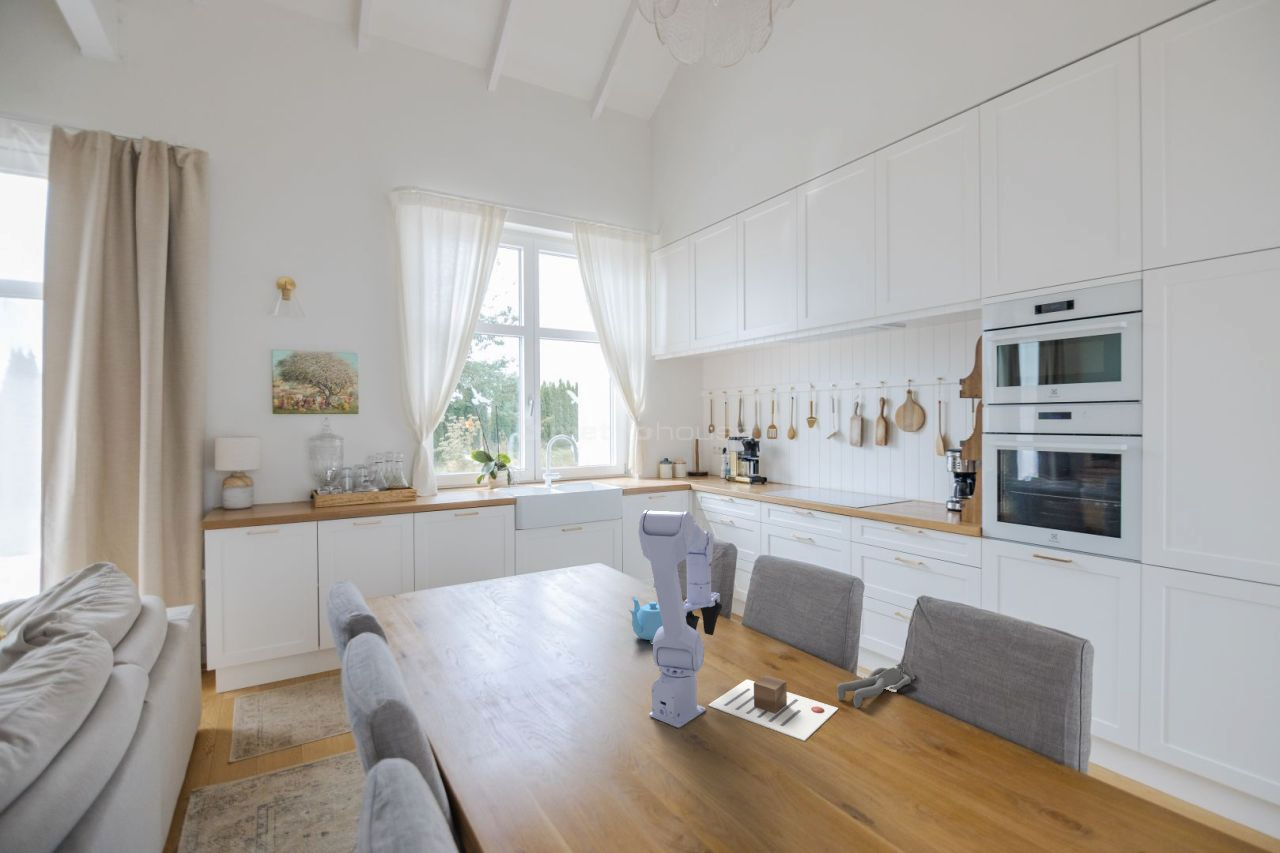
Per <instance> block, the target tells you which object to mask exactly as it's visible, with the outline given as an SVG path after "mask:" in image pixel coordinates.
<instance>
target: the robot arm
mask: <svg viewBox="0 0 1280 853" xmlns="http://www.w3.org/2000/svg"><path fill="white" fill-rule="evenodd" d="M638 523H639V525H638V538H639V543H640V547H641V551H642V555H643V557H644V558H646V559H647V560H648V561H650V565H651V571H652V576H653V582H654V588H655V592H656V598H657V604H659V609H660V614H661V619H662V624H663V626H661V627H660V628H659V629H658V630H657V631H656V634H655V636H654V639H653V644H652V647H653V648H652V659H653V660H652V661H653V663H654V665H655V666H656V667H658V672H660V675H659V677H657V678H656V680H654V682H653V683H652V686H651V700H652V702H651V706H652V707H651V711H650V712H649V714H648V716H649V717H651V718H654V719H656V720H659V721H661V722H663V723H666V724H668V725H670V726H672V727H675V728H679V729H680V728H681V727H683V726H685V725H686V724H687V723H689V722H690V721H692V720H694V719H696V717H698V716H700V715H701V714H702V713H704V712H705V711H706V709H707V708H706V707H704V706H702V705H699V704H698V695H697V693H698V692H697V687H698V686H697V673H698V672H699V671H700V670H701V669H702V668H703V666H704V660H705V644H704V643H703V641H702V638H701V636H700V632H698V631H697V627H698V624H699V620H700V619H701V618H700V616H699V615H698V616H697V615H695V614H694V613H693V612H695V611H698V610H699V609H700V611H701V616H702V624H703V625H702V626H703V631H704V634H706V635H710V636H713V635H714V633H715V628H716V626H717V625H716V624H717V620H718V617H719V615H720V613H721V611H722V609H723V604H721V603H719V602H720V601H721V600H720V598H721V596H720V595H721V594H720V593H718V592H715V591H714V592H713V591H712V570H711V569H712V568H711V567H712V562H713V552H714V546H715V545H714V535H713V533H710V532H709V531H708V530H704V529H702V527H700V526H699V525H698V524H697V523H696V520H694V518H693V515H692V514H691V512H690V511H688V510H686V511H665V510H663V511H662V510H650V509H645V510H644V511H643V512H642V513H641V515H640V516H639V522H638ZM685 560H686V599H685V600H684V599H683V595H682V594H683V593H682V587H681V582H680V576H679V571H678V564H679V563H680V562H683V561H685ZM683 600H684V601H683Z"/></svg>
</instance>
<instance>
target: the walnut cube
mask: <svg viewBox="0 0 1280 853" xmlns="http://www.w3.org/2000/svg"><path fill="white" fill-rule="evenodd" d="M787 686H788V685H787V680H784V679H780V678H777V677H773V676H771V675H766V674H765V675H763V676H762V677H760V678H759V679H757V680H756V681H754V707H757V708H760V709H763V710H766V711H769V712H772V713H774V714H776V713H777V712H778V711H780V710H781V709H782V708H783V707H785V706H786V705H787V692H788V691H787V690H788V689H787Z"/></svg>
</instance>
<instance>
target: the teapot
mask: <svg viewBox="0 0 1280 853" xmlns="http://www.w3.org/2000/svg"><path fill="white" fill-rule="evenodd" d="M631 599H632V601H633V605H634V610H632V609H628V611H629V613H630V615H631V616H632V617H631V626H632V630H633V632H634V634H636V636H637V638H638V637H639V638H642V640H649V644H650V643H653V639H654V636H655V634H656V631H657V630H658V629H659V628H660V627H661V626H663V624H662V619H661V614H660V609H659V603H658V601H657V602H656V601H650V602H648V604H644V605H643V606H640V602H639V600H638V599H637V598H636V597H635V596H631Z"/></svg>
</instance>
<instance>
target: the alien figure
mask: <svg viewBox="0 0 1280 853" xmlns="http://www.w3.org/2000/svg"><path fill="white" fill-rule="evenodd" d="M901 664H902V662H899V663H897V664H895V666H896V667H889V668H887V667H878V668H876V669H874V670H873V671H872V672H871V673H870V674H869V675H868V677H865V676H864V678H860V679H857V680H856V679H855V680H851V681H845V682H840V683H838V684H837V688H836V689H837V691H836V692H837V700H838V701H839V702H842V701H843V700H844V699H845V698H846V694H847V692H854V696H853V705H854V707H855V708H856V709H859V708H860V707H861V705H862V703H863V699H864V698H872V697H877V696H879V695H881V694H882V693H883V691H884V690H885V688H888V687H889V690H894V691H896V690H900V689H901V688H902V687H903V686H906V685H909V684H911V682H912V681H915V680H914V678H913V676H912V674H911V672H910V670H909V667H908V665H907V664H909V663H908V662H905V661H903V665H902V671H901V677H900V669H901ZM903 667H904V672H903ZM861 679H862V680H861ZM899 679H900V680H899ZM863 680H865V681H863ZM866 681H867V682H866ZM882 688H883V689H882Z"/></svg>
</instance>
